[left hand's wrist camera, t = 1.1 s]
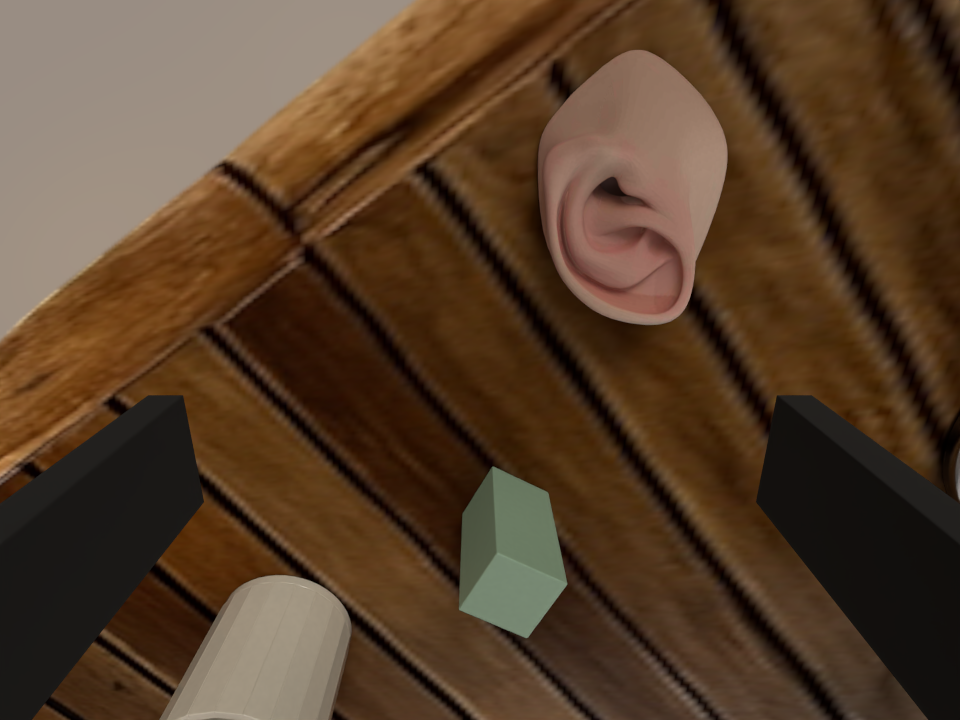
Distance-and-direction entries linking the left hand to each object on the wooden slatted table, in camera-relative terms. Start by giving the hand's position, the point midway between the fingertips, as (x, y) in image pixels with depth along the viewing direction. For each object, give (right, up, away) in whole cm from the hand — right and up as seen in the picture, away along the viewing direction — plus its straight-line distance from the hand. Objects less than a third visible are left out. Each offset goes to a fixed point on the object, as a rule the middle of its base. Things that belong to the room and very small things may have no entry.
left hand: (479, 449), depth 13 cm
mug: (-14, -22, +32) cm, 41 cm away
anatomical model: (+8, +12, +20) cm, 25 cm away
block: (+2, -8, +27) cm, 28 cm away
